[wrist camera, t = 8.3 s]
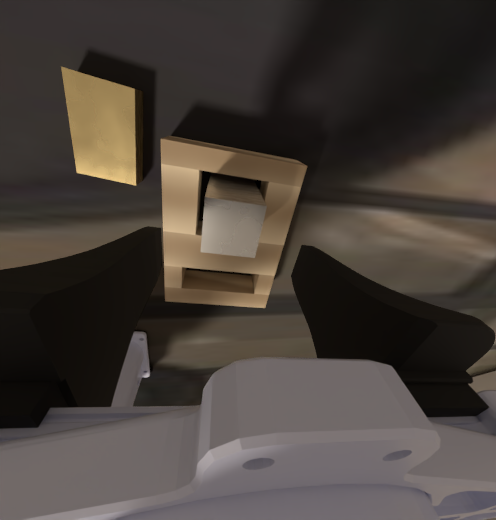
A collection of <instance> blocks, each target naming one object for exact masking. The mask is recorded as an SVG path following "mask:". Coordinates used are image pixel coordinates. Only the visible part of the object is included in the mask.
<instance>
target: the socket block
mask: <svg viewBox="0 0 496 520" xmlns="http://www.w3.org/2000/svg"><path fill="white" fill-rule="evenodd" d="M161 168H162V205H163V242H164V279H165V301H168V302H183V303H198V304H213V305H228V306H243V307H258V308H265V306H266V303H267V300H268V296H269V293H270V290H271V286H272V283H273V280H274V276H275V273H276V270H277V266H278V263H279V260H280V256H281V253H282V250H283V246H284V243H285V240H286V236H287V233H288V229H289V226H290V223H291V219H292V216H293V213H294V209H295V206H296V203H297V199H298V196H299V193H300V189H301V186H302V183H303V179H304V176H305V173H306V169H307V166H306V165H305V164H303V163H301V162H299V161H297V160H295V159H290V158H284V157H279V156H274V155H269V154H263V153H258V152H253V151H248V150H242V149H237V148H232V147H227V146H221V145H216V144H211V143H206V142H200V141H195V140H190V139H185V138H179V137H174V136H168V137H165V138H161ZM202 171H207V172H213V173H219V174H225V175H231V176H237V177H243V178H249V179H255V180H261V186H260V190H259V191H260V193H261V195H262V197H263V200H264V202H265V204H266V206H267V208H266V212H265V217H264V221H263V225H262V230H261V234H260V238H259V243H258V247H257V251H256V256H255V258H250V257H241V256H232V255H222V254H213V253H204V252H201V239H202V226H203V221H199V215H200V200H201V185H202ZM186 268H196V269H206V270H217V271H228V272H239V273H249V274H252V275H251V276H248V275H237V274H226V273H215V272H204V271H193V270H186Z"/></svg>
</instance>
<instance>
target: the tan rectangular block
mask: <svg viewBox="0 0 496 520" xmlns="http://www.w3.org/2000/svg"><path fill="white" fill-rule="evenodd" d="M61 68H62V75H63V82H64V89H65V96H66V102H67V109H68V116H69V123H70V130H71V136H72V143H73V150H74V157H75V164H76V170H77V173H81V174H85V175H90V176H95V177H99V178H104V179H109V180H113V181H118V182H122V183H127V184H132V185H137V184H139V183H140V182H141V181H143V91H140V90H137V89H134V88H130V87H127V86H124V85H120V84H117V83H114V82H110V81H107V80H104V79H100V78H97V77H94V76H90V75H87V74H84V73H80V72H77V71H74V70H70V69H67V68H64V67H61Z"/></svg>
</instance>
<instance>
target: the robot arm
mask: <svg viewBox="0 0 496 520" xmlns="http://www.w3.org/2000/svg"><path fill="white" fill-rule="evenodd" d="M161 266H162V242H161V228H156V227H144V228H142V229H139V230H137V231H135V232H133V233H131V234H128V235H126V236H124V237H122V238H120V239H117V240H115V241H112V242H110V243H107V244H105V245H102V246H100V247H97V248H95V249H92V250H89V251H86V252H82V253H79V254H76V255H72V256H69V257H65V258H60V259H56V260H52V261H47V262H43V263H38V264H33V265H28V266H22V267H16V268H10V269H3V270H0V520H484V519H490V518H496V390H483V391H480V392H477V393H476V392H475V391H474V390H473V389H472V388H471V387H470V385H469V384H471V383H472V382H473V378H472V377H471V376H470V375H469V374H468V373H467V372H466V370H467V369H468V368H469V367H471V366H472V365H473V364H474V363H475V362H477V361H478V360H479V359H480V358H481V357H483V356H484V355H485V354H486V353H487V352H488V351H489V350H490V349H491V347H492V346H493V344H494V341H495V333H494V330H492V329H491V328H490V327H489V326H487V325H486V324H485V323H484V322H482V321H481V320H479V319H477V318H475V317H473V316H470V315H466V314H463V313H459V312H456V311H452V310H449V309H445V308H441V307H438V306H435V305H432V304H429V303H426V302H423V301H420V300H417V299H414V298H411V297H409V296H406V295H403V294H401V293H399V292H396V291H394V290H391V289H389V288H387V287H384V286H382V285H380V284H378V283H376V282H374V281H372V280H370V279H368V278H366V277H364V276H362V275H360V274H359V273H357V272H355V271H353V270H352V269H350V268H348V267H347V266H345V265H343V264H342V263H340V262H339V261H337V260H335V259H334V258H332V257H331V256H329V255H328V254H326V253H324V252H323V251H321V250H319V249H317V248H315V247H313V246H306V245H302V246H301V249H300V252H299V255H298V257H297V260H296V263H295V266H294V269H293V272H292V275H291V277H292V282H293V287H294V291H295V293H296V296H297V299H298V301H299V304H300V306H301V309H302V311H303V314H304V316H305V318H306V321H307V323H308V326H309V329H310V332H311V335H312V339H313V342H314V346H315V350H316V354H317V358H284V357H258V358H251V359H243V360H237V361H235V362H233V363H231V364H229V365H227V366H225V367H223V368H221V369H219V370H217V371H216V372H215V373H214V374H213V375H212V376H211V378H210V379H209V381H208V382H207V384H206V385H205V387H204V389H203V396H202V403H201V405H198V406H153V407H132V406H133V403H134V400H135V397H136V394H137V391H138V388H139V385H140V381H141V378H142V377H149V376H150V366H149V355H148V345H147V335H146V333H145V332H138V331H134V330H135V328H136V325H137V322H138V320H139V317H140V315H141V313H142V311H143V309H144V307H145V305H146V303H147V301H148V299H149V296H150V294H151V292H152V290H153V288H154V286H155V284H156V282H157V279H158V276H159V273H160V270H161Z"/></svg>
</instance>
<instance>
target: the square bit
mask: <svg viewBox="0 0 496 520" xmlns="http://www.w3.org/2000/svg"><path fill="white" fill-rule="evenodd" d="M266 208H267V206H266V204H265V202H264V200H263V197H262V195H261V193H260V191H259V189H258V187H257V185H256V183H255V181H254V179H248V178H243V177H237V176H231V175H225V174H219V173H213V172H211V175H210V179H209V182H208V186H207V190H206V194H205V201H204V213H203V226H202V239H201V252H204V253H213V254H222V255H232V256H241V257H250V258H255V256H256V251H257V247H258V243H259V238H260V234H261V230H262V225H263V221H264V217H265V212H266Z"/></svg>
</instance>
